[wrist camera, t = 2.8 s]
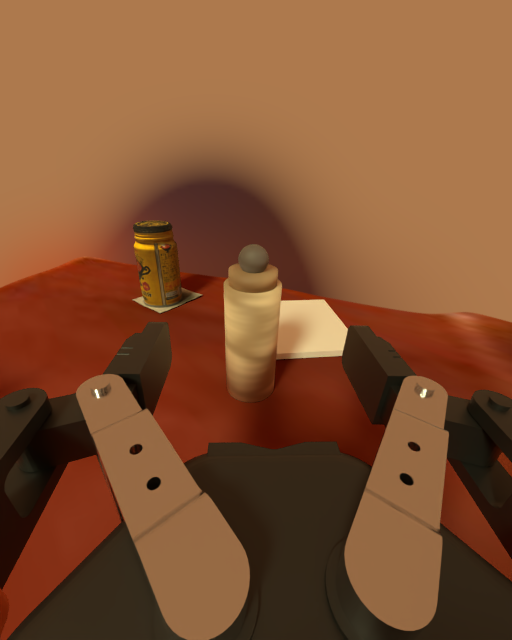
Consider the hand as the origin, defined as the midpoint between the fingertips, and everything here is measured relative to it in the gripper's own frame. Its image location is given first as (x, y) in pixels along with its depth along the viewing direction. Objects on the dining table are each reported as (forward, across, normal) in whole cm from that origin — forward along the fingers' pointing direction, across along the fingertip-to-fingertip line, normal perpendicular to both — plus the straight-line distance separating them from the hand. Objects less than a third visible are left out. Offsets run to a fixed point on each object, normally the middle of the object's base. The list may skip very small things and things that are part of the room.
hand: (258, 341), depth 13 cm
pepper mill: (+12, 0, +13) cm, 17 cm away
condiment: (+32, +12, +13) cm, 37 cm away
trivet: (+23, -6, +12) cm, 27 cm away
